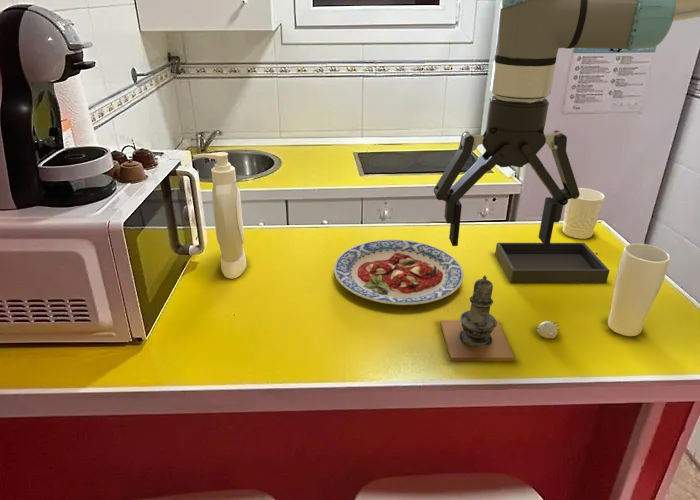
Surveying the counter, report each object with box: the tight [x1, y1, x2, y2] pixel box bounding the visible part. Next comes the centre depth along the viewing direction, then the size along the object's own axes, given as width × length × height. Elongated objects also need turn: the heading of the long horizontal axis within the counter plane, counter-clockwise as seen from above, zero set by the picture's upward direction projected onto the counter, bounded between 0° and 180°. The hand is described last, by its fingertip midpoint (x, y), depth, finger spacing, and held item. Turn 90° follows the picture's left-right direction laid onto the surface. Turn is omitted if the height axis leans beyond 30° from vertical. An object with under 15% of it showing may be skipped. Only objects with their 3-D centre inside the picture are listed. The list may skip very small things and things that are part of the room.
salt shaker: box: [459, 275, 498, 348], centre depth 83 cm, size 6×6×12 cm
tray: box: [494, 242, 611, 284], centre depth 108 cm, size 19×12×3 cm, turn 91°
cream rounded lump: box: [535, 320, 561, 339], centre depth 88 cm, size 3×4×3 cm
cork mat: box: [440, 320, 515, 362], centre depth 86 cm, size 10×10×1 cm
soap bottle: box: [193, 151, 248, 280], centre depth 102 cm, size 13×8×24 cm, turn 7°
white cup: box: [561, 187, 606, 240], centre depth 122 cm, size 8×8×10 cm
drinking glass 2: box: [607, 242, 671, 337], centre depth 87 cm, size 7×7×15 cm
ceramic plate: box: [333, 239, 465, 306], centre depth 104 cm, size 26×26×3 cm
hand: (498, 241), depth 78 cm, fingers open, 13 cm apart
